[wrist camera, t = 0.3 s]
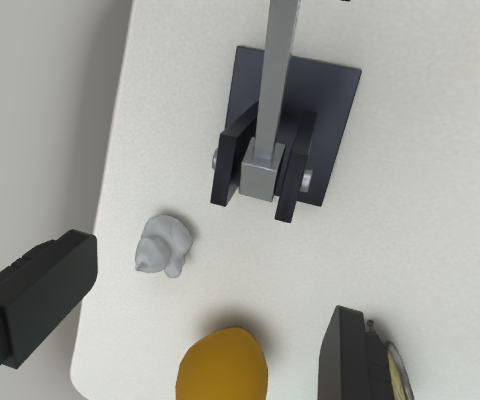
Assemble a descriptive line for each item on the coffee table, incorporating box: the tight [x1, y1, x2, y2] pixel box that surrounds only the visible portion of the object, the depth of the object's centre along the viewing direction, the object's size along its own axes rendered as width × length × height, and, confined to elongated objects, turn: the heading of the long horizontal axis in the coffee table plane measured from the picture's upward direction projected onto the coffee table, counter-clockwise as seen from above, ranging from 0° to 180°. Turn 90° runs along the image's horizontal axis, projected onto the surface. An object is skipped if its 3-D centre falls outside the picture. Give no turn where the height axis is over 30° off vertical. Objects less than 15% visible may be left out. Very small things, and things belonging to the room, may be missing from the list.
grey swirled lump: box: [135, 215, 193, 278], centre depth 36 cm, size 5×7×8 cm
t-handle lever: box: [239, 0, 350, 202], centre depth 18 cm, size 13×5×2 cm, turn 170°
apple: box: [176, 327, 268, 400], centre depth 38 cm, size 10×10×12 cm
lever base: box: [210, 46, 362, 223], centre depth 26 cm, size 12×10×13 cm
